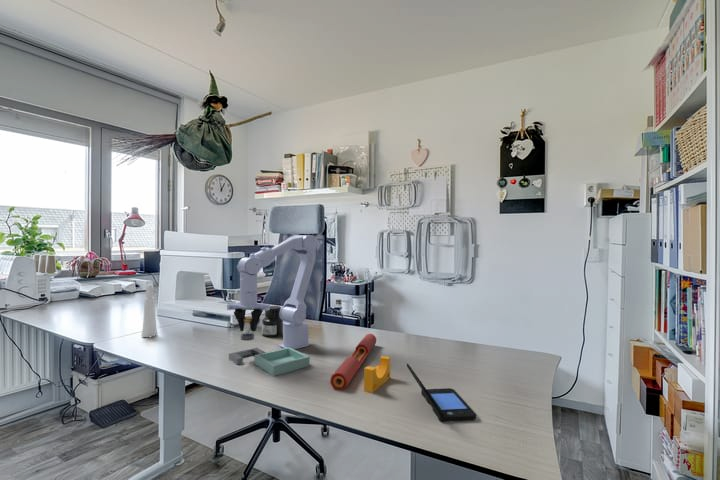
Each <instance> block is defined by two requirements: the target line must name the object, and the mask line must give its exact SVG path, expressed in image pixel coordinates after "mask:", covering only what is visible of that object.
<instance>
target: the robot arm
mask: <svg viewBox="0 0 720 480" xmlns="http://www.w3.org/2000/svg"><path fill="white" fill-rule="evenodd" d="M317 247H318V242H317V239H316V237H315V236H314V235H311V234H304V235H300V234H294V235H293V236H289V237H288V238H286V239H285V240H284V241H282V242H280V243H278V244H277V245H274V246H273V247H271V248H270V247H261V248H260V250H259V251H257V252H254V253H251V254H249V256H248V257H246V256H245V257H242V258H241V259H240V260H239V261H238V262H237V263H238V264H237V265H236V269H237V272H239V303H238V302H236V303H235V302H234V303H227V304H226V310H227V311H231V310H232V311H233V310H234V311H233V315H234V316H235V318H236V321H237V323H238V327H239V330H240V331H239V332H243V322H244V321H243V318H245V317H246V312H247V311H251V313H250V314H251V317H252V331H253V332H256V331H257V328H258V323H259V321H260V318H261V315H262V313H263V312H265V311H268V310H270V306H271V305H270V303H259V302H258V274H259V272H260V271H261V269H262V268H265V267H266V266H268V265H270V264H271V263H274V261H276V257H277V256H280V255H282V254H284V253H286V252H288V251H290V250H293V251H294V252H295V253H296V254H297V255H298V257H299V258H300V264H299V266H298V270H297V273H296V276H295V280H294V283H293V287H292V290H291V293H290V296H289V298H288V299H286V300H285V301H284V303H283V306H282V307H281V310H280V318H281V319H282V320H283V334H282V337H283V338H282V343H279V344H278V347H281V348H282V349H284V348H288V347H290V348H292V349H294V350H297V349H301V348H305V347H308V346H311V345H310V343H309V338H310V337H309V336H310V335H309V333H310V332H309V331H310V330H309V326H308V323H307V322H305V320H306V318H307V308H308V307H307V304H306V303H305V298H306V294H307V290H308V287H309V283H310V279H311V277H312V273H313V271H314V266H315V262H316V258H317V257H316V256H317V255H316V254H317V253H316V251H317Z"/></svg>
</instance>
